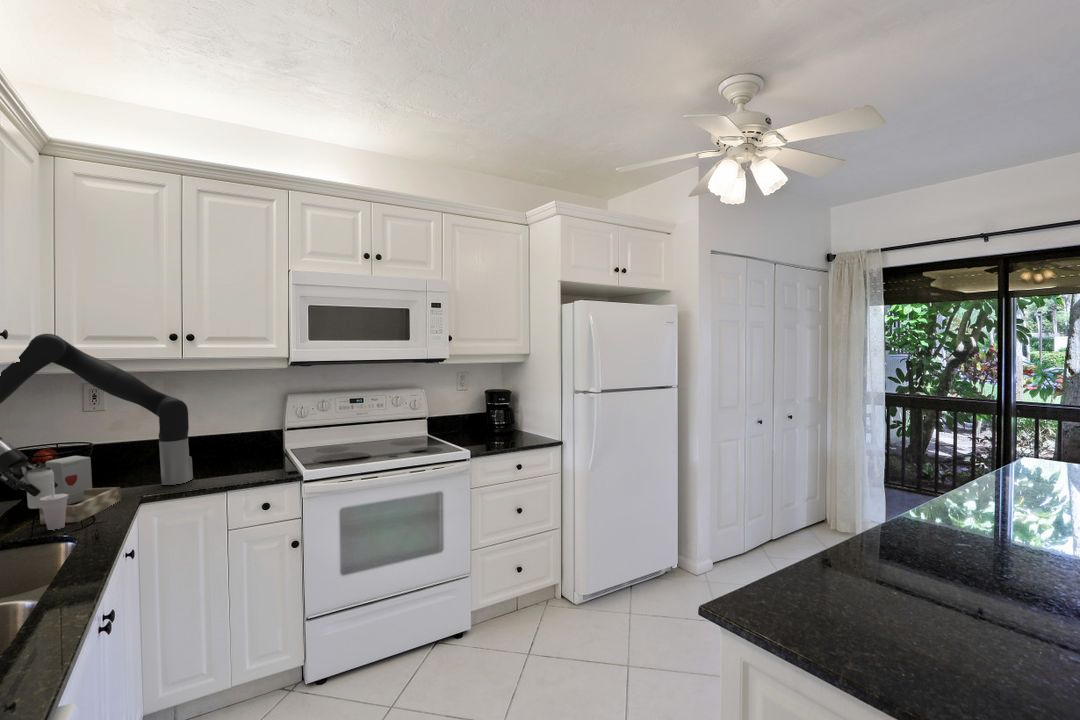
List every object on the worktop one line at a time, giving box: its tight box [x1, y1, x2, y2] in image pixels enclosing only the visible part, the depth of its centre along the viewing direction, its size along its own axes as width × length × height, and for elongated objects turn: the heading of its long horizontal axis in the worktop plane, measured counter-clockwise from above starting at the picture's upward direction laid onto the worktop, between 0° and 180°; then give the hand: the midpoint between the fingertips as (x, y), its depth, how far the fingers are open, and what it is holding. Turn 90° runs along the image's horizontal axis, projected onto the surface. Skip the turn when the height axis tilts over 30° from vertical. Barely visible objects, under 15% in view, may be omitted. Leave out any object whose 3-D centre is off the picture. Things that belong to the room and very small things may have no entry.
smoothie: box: [39, 483, 69, 531], centre depth 155 cm, size 6×6×14 cm
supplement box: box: [45, 455, 93, 506], centre depth 180 cm, size 9×9×15 cm
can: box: [26, 466, 55, 510], centre depth 167 cm, size 6×6×12 cm
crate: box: [39, 486, 122, 525], centre depth 169 cm, size 20×10×5 cm, turn 8°
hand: (46, 490), depth 167 cm, fingers closed on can, 6 cm apart
